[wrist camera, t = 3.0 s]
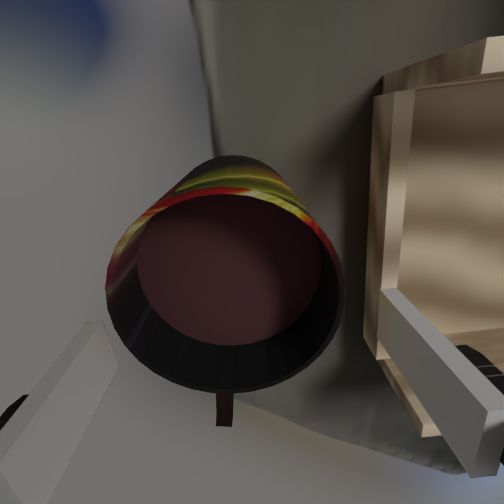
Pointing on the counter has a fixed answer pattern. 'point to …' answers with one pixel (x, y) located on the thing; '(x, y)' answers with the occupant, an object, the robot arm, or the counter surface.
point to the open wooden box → (439, 204)
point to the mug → (226, 283)
